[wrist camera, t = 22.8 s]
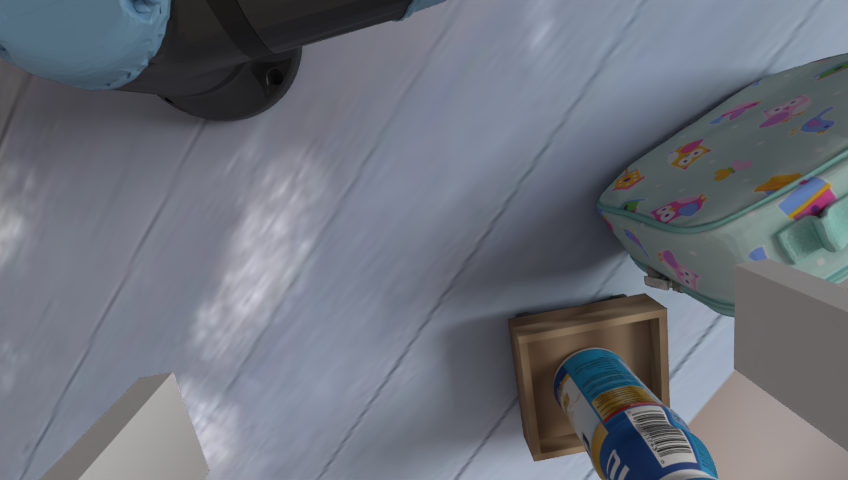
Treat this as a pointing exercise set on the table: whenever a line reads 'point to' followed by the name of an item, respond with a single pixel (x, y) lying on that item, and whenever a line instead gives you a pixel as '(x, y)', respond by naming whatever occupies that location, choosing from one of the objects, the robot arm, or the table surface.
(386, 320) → the table surface
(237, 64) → the robot arm
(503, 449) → the table surface
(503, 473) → the table surface
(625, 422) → the beverage bottle
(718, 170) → the lunch box
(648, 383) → the wooden square tray
